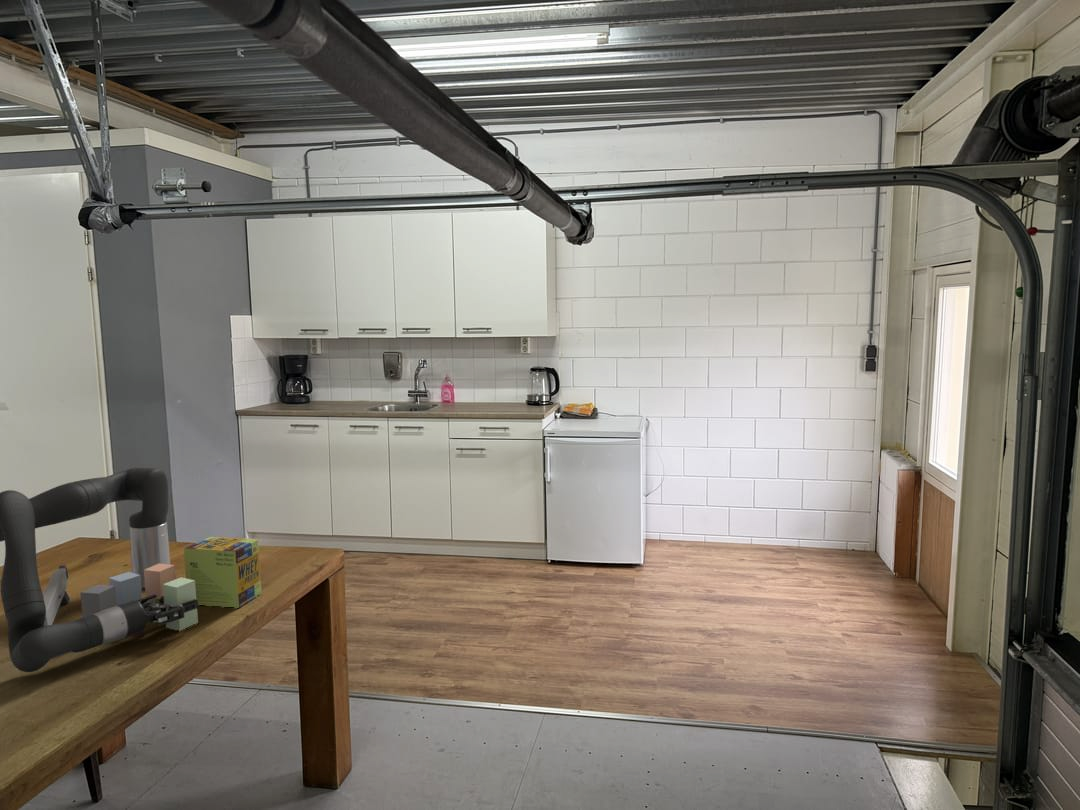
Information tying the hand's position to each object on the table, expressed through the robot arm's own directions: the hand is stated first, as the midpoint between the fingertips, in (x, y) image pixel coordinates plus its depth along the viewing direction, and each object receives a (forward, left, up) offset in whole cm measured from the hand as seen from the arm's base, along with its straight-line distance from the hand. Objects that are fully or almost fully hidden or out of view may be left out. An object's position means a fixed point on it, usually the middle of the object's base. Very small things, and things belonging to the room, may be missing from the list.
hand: (188, 599), depth 176 cm
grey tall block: (-14, -13, -6) cm, 20 cm away
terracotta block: (-14, +3, -6) cm, 16 cm away
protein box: (-4, +14, -6) cm, 16 cm away
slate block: (-16, -5, -6) cm, 18 cm away
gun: (-35, -12, -6) cm, 37 cm away
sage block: (0, -2, -6) cm, 6 cm away
